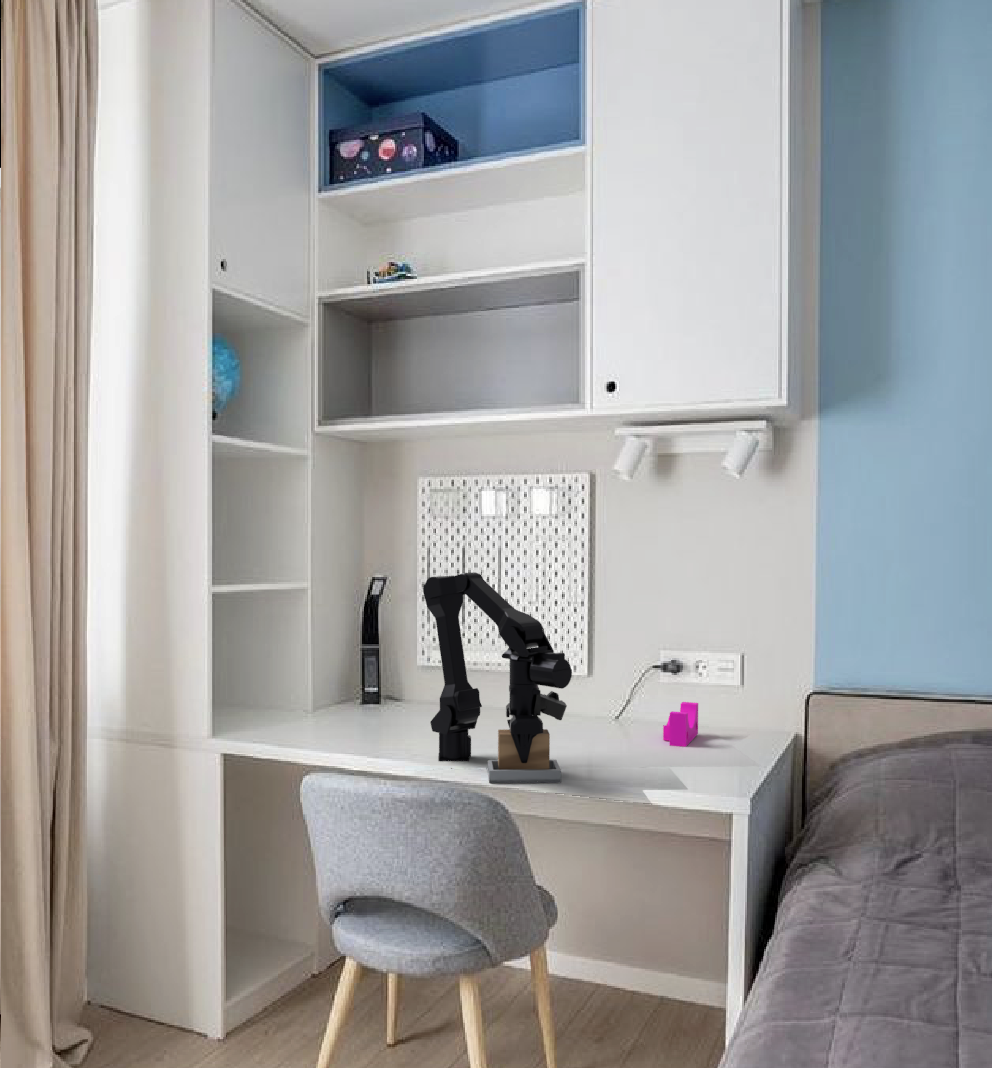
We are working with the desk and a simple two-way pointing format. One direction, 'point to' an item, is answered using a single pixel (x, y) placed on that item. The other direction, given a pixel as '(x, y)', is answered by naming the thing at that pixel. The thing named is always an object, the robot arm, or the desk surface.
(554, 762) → the slot tray
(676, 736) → the toy block
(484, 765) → the desk surface
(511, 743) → the walnut block
